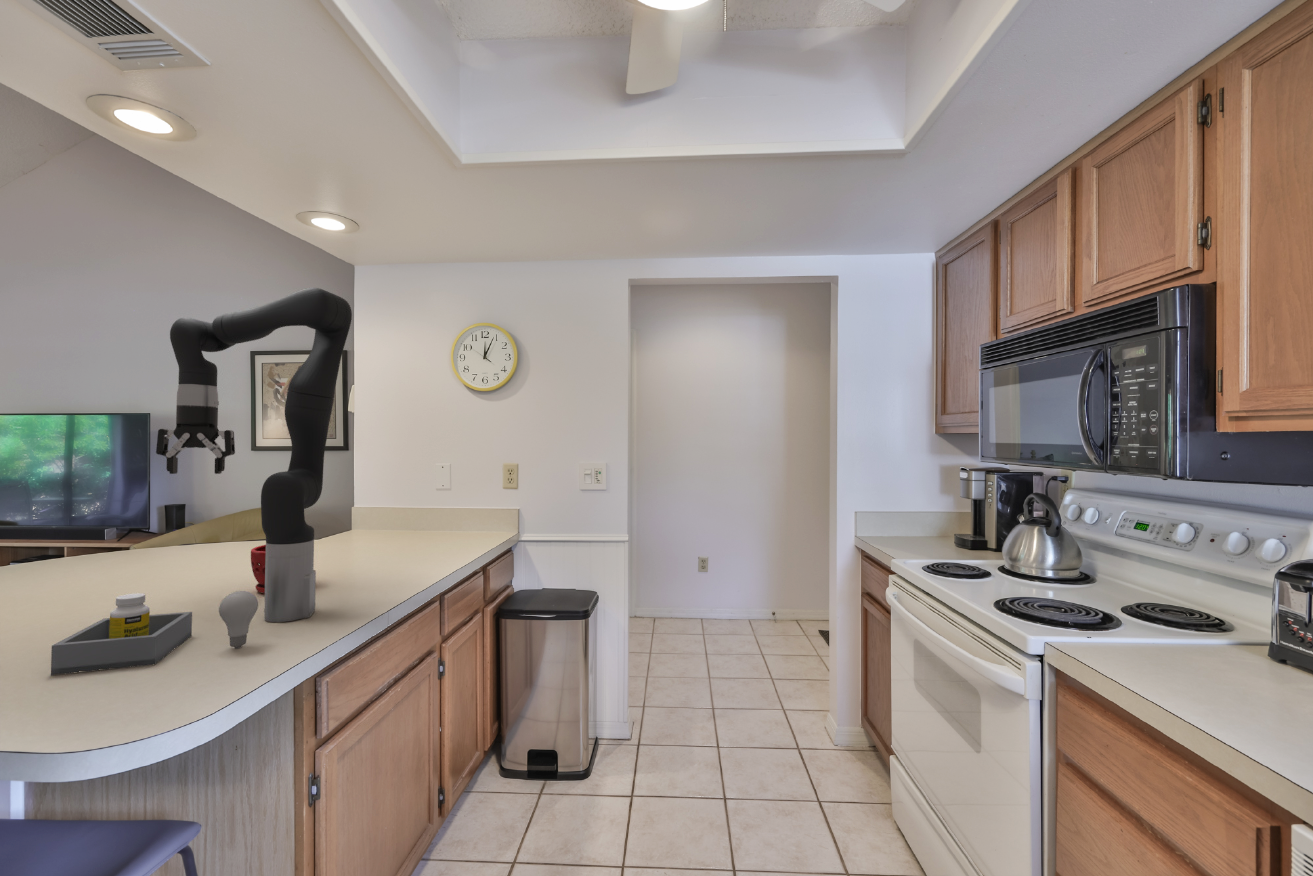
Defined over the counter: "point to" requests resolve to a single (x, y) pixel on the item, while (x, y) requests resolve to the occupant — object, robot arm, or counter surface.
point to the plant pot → (259, 566)
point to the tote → (120, 645)
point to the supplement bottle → (129, 617)
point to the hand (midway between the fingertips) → (196, 473)
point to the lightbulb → (238, 615)
